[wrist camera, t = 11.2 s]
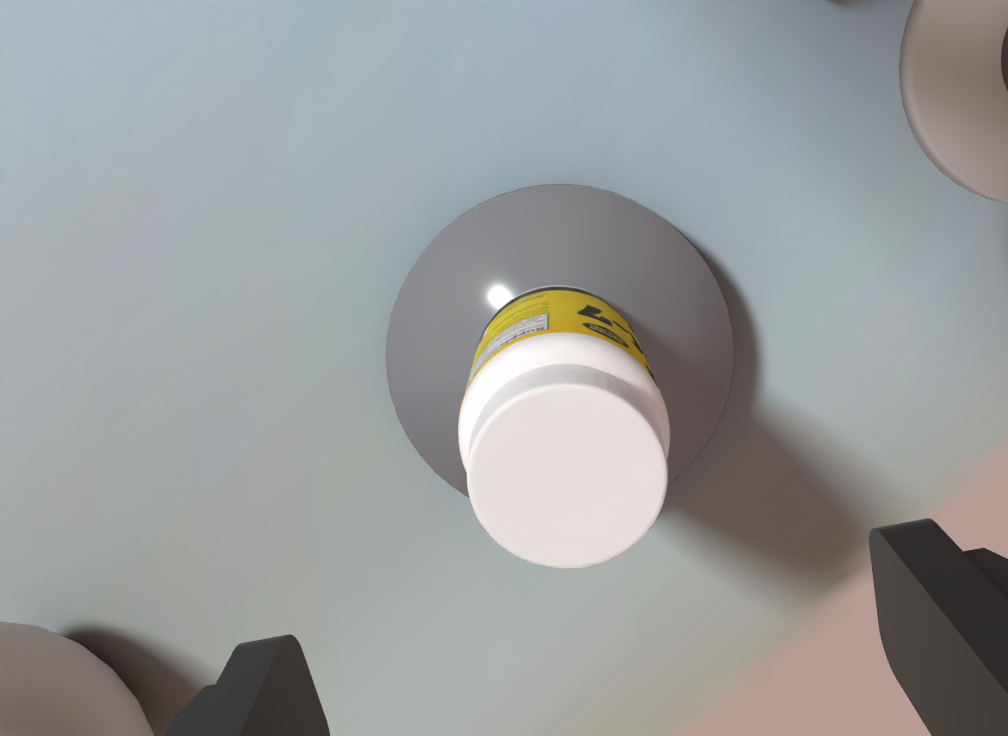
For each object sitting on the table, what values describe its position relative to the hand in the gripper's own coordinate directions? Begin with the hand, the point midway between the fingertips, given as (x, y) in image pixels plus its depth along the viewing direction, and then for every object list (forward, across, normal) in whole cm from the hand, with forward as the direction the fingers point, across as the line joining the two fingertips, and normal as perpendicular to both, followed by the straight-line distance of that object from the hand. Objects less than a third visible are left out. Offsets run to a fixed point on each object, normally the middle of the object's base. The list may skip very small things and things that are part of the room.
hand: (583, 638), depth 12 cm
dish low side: (+15, 0, 0) cm, 15 cm away
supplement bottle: (+14, 0, 0) cm, 14 cm away
